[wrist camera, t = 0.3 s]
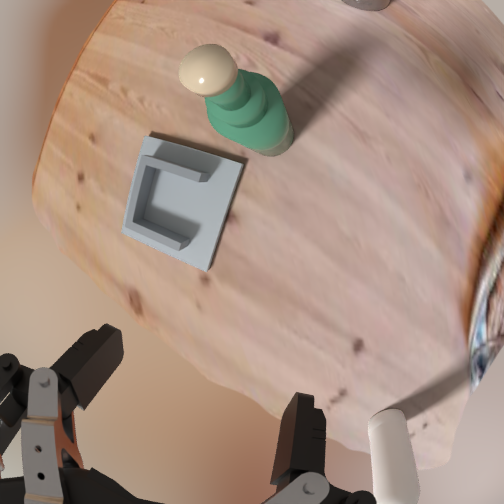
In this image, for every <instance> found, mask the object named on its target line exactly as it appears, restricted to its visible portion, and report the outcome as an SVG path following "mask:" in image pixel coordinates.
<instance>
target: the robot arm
mask: <svg viewBox="0 0 504 504" xmlns="http://www.w3.org/2000/svg"><path fill="white" fill-rule="evenodd" d="M342 1H343V2H345V3H347V4H349V5H350V6H353V7H355V8H359V9H362V10H368V11H377V10H381V9H384V8H386V7H387V6H388V4H389V2H390V0H342ZM123 355H124V351H123V342H122V333H121V331H120V330H119V329H117V328H115V327H113V326H111V325H109V324H104V325H103V326H102V327H101V328H100V329H99V330H98V331H97V330H95V329H93V330H91V331H88V332H86V333H84V334H83V335H82V336H81V337H80V338H79V339H78V340H77V342H75V343H74V344H73V345H72V347H70V348H69V349H68V350H67V351H66V352H65V353H64V354H63V355H62V356H61V357H60V358H59V359H58V360H57V361H56V362H55V363H54V364H53V366H51V367H50V368H45V367H44V368H43V367H42V368H38V369H36V370H33V369H31V368H28V367H25V366H23V365H20V363H19V361H18V359H17V358H16V357H15V355H13V354H9V353H8V354H7V353H6V354H3V355H1V356H0V403H1V401H2V400H3V399H4V398H5V397H6V395H7V394H8V393H9V392H10V394H9V395H8V396H7V398H6V399H5V400H4V401H3V402H2V404H1V405H0V504H163V503H158V502H152V501H148V500H143V499H139V498H136V497H135V496H133V495H132V494H131V493H129V492H128V491H127V490H125V489H124V488H123V487H122V486H120V485H119V484H118V483H117V482H116V481H114V480H113V479H111V478H109V477H107V476H106V475H104V474H102V473H100V472H99V471H97V470H95V469H94V468H91V469H90V470H87V469H84V465H83V461H82V457H81V454H80V452H79V449H78V446H77V439H76V430H75V420H74V411H73V410H74V409H75V408H76V406H78V407H79V408H81V409H82V410H85V409H86V407H87V406H88V404H89V403H90V402H91V401H92V399H93V398H94V397H95V396H96V394H97V393H98V392H99V390H100V389H101V388H102V386H103V385H104V384H105V382H106V381H107V380H108V379H109V377H110V376H111V374H112V373H113V372H114V371H115V370H116V368H117V367H118V366H119V364H120V363H121V361H122V359H123ZM20 428H21V445H22V461H23V472H24V476H22V477H14V478H4V479H1V471H3V470H4V464H3V459H2V455H3V453H4V452H5V450H6V449H7V447H8V446H9V444H10V443H11V441H12V439H13V438H14V437H15V435H16V434H17V432H18V431H19V429H20ZM325 439H326V418H325V416H324V413H323V411H322V409H317V408H314V396H313V395H308V394H304V393H299V392H296V393H295V395H294V396H293V398H292V400H291V401H290V403H289V404H288V406H287V408H286V409H285V411H284V414H283V416H282V420H281V425H280V432H279V438H278V443H277V449H276V455H275V460H274V466H273V471H272V476H271V481H270V484H273V485H277V489H276V493H275V494H274V495H272V496H271V497H269V498H268V499H267V500H265V501H264V502H262V503H261V504H377V501H376V498H375V497H374V495H373V494H371V493H370V492H368V491H363V490H362V491H357V492H354V493H351V492H348V491H345V490H342V489H339V488H337V487H334V486H333V485H331V484H330V483H329V482H328V481H327V479H326V476H325V473H324V467H325V447H326V446H325V445H326V441H325Z"/></svg>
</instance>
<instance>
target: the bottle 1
mask: <svg viewBox="0 0 504 504" xmlns="http://www.w3.org/2000/svg"><path fill="white" fill-rule="evenodd" d="M179 79H180V81H181V83H182V84H183V85H184V86H185V87H186V88H188V89H189V90H191V91H192V92H194V93H195V94H197V95H199V96H202V97H205V103H206V106H207V114H208V118H209V121H210V123H211V125H212V126H213V128H214V129H215V130H216V131H217V132H218V133H220V134H221V135H223V136H224V137H226V138H228V139H231V140H233V141H235V142H237V143H239V144H241V145H243V146H245V147H247V148H249V149H251V150H253V151H255V152H257V153H259V154H261V155H264V156H277V155H280V154H282V153H284V152H285V151H286V150H287V149H288V148H289V147H290V146H291V144H292V141H293V137H294V133H293V128H292V125H291V122H290V120H289V117H288V114H287V111H286V109H285V106H284V103H283V101H282V98H281V95H280V93H279V91H278V89H277V87H276V86H275V84H274V83H273V82H272V81H271V80H270V79H268V78H267V77H265V76H263V75H261V74H258V73H254V72H248V71H246V70H242V69H238V67H237V64H236V62H235V60H234V59H233V58H232V56H231V55H230V53H229V52H228V51H227V50H226V49H225V48H224V47H222V46H219V45H216V44H206V45H202V46H199V47H197V48H195V49H193V50H192V51H190V52H189V53H188V54H187V55H186V56H185V57H184V59H183V60H182V62H181V64H180V67H179Z"/></svg>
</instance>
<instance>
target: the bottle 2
mask: <svg viewBox="0 0 504 504" xmlns="http://www.w3.org/2000/svg"><path fill="white" fill-rule="evenodd" d="M368 434H369V439H370V449H371V459H372V472H373V491H374V497H375V498H376V501H377V504H417V502H418V498H419V494H420V486H419V480H418V474H417V469H416V463H415V459H414V454H413V449H412V445H411V440H410V436H409V432H408V428H407V421H406V418H405V416H404V413H403V412H402V411H401V410H399V409H388V410H384V411H381V412H379V413H377V414H376V415H374V416H373V417H372V418H371V419H370V420H369V422H368Z"/></svg>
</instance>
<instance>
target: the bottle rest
mask: <svg viewBox="0 0 504 504" xmlns="http://www.w3.org/2000/svg"><path fill="white" fill-rule="evenodd" d="M243 166H244V164H241V163H238V162H235V161H232V160H229V159H226V158H223V157H220V156H217V155H214V154H210V153H207V152H204V151H200V150H197V149H194V148H190V147H187V146H183V145H180V144H176V143H172V142H169V141H165V140H161V139H157V138H153V137H149V136H144V140H143V143H142V146H141V150H140V153H139V157H138V160H137V164H136V168H135V172H134V176H133V180H132V184H131V188H130V192H129V197H128V201H127V206H126V211H125V216H124V221H123V226H122V232H121V233H123V234H125V235H127V236H129V237H131V238H133V239H135V240H137V241H140V242H142V243H144V244H146V245H148V246H150V247H152V248H154V249H157V250H159V251H161V252H163V253H165V254H167V255H170V256H172V257H174V258H176V259H178V260H181V261H183V262H185V263H187V264H189V265H192V266H194V267H196V268H198V269H201V270H203V271H205V272H207V271H208V270H209V268H210V265H211V262H212V259H213V255H214V252H215V249H216V246H217V243H218V240H219V237H220V234H221V231H222V227H223V224H224V221H225V218H226V215H227V212H228V209H229V206H230V203H231V200H232V197H233V195H234V192H235V189H236V186H237V183H238V180H239V177H240V174H241V171H242V169H243Z"/></svg>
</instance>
